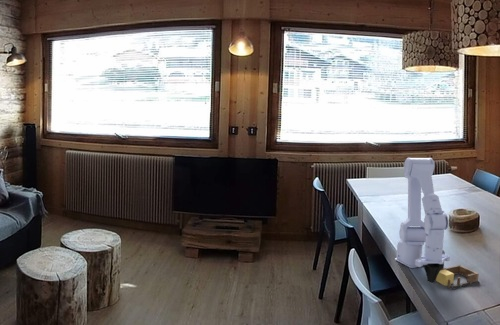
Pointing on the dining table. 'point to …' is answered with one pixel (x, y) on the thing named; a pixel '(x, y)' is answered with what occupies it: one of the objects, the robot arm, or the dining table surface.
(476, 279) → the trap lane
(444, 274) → the ochre block
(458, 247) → the dining table surface
